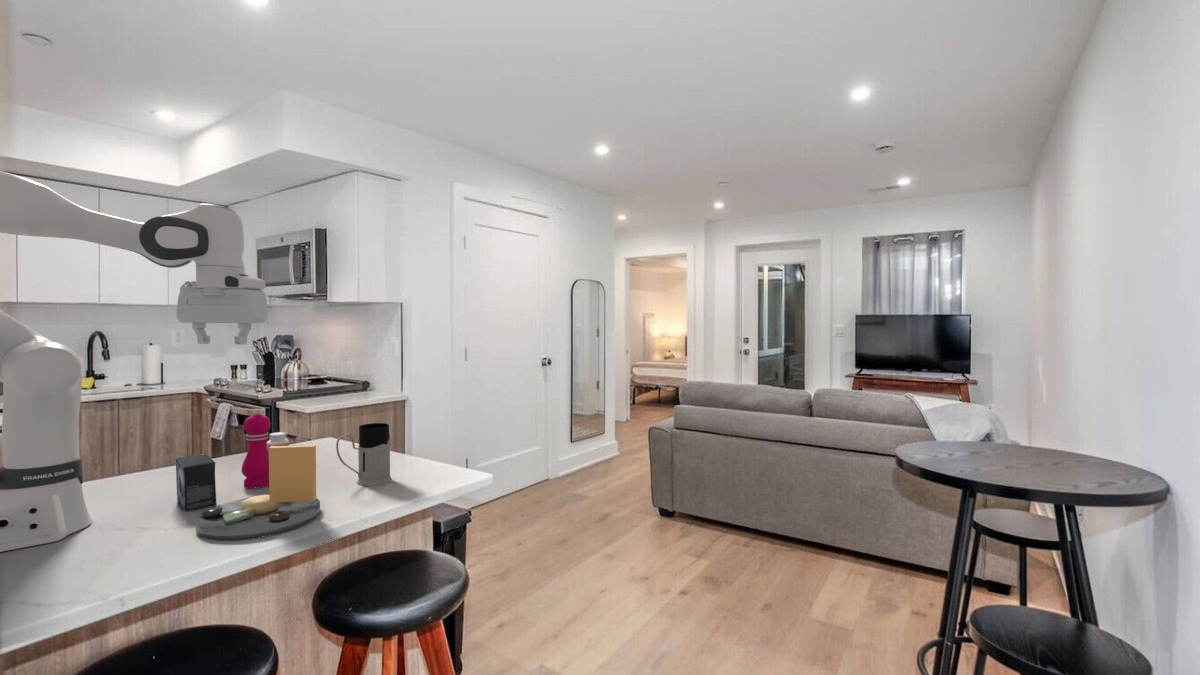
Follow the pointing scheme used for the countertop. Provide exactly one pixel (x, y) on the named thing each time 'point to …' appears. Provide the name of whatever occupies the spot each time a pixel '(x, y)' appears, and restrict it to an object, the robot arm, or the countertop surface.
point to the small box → (195, 482)
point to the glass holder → (372, 454)
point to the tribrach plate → (253, 520)
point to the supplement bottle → (277, 440)
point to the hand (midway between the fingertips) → (222, 344)
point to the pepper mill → (256, 451)
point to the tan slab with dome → (287, 478)
